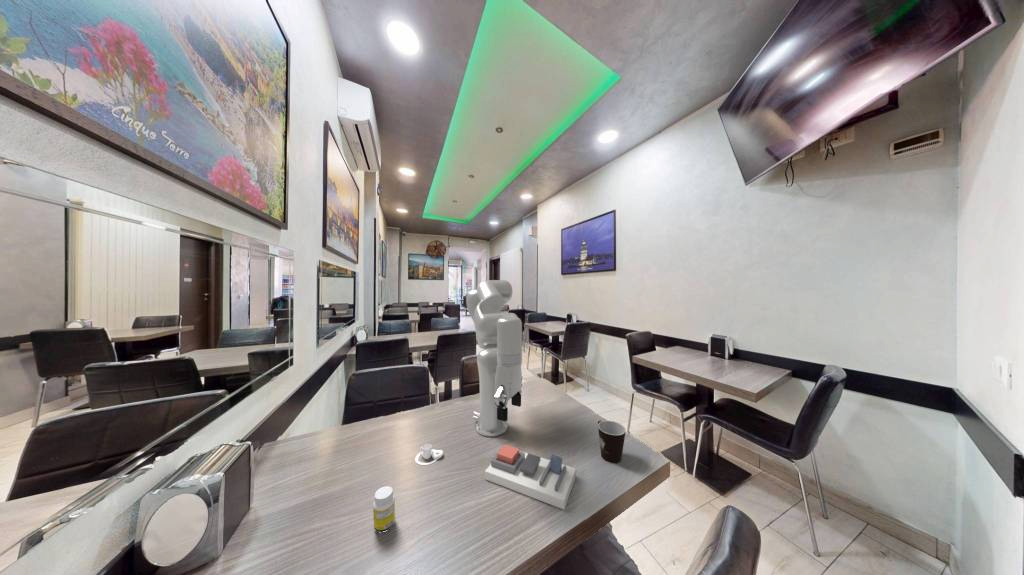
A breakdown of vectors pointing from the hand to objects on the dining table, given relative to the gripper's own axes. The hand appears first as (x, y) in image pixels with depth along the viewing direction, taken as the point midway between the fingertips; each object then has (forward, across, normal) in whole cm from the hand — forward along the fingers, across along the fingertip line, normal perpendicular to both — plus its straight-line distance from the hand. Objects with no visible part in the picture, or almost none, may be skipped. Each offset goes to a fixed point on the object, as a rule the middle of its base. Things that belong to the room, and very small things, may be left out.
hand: (509, 412), depth 85 cm
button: (+14, 0, 0) cm, 15 cm away
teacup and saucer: (+19, +8, -25) cm, 32 cm away
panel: (+18, 0, +7) cm, 20 cm away
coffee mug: (+19, -21, +28) cm, 39 cm away
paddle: (+16, -2, +14) cm, 21 cm away
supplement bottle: (+19, +30, -19) cm, 40 cm away
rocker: (+14, 0, +7) cm, 16 cm away
